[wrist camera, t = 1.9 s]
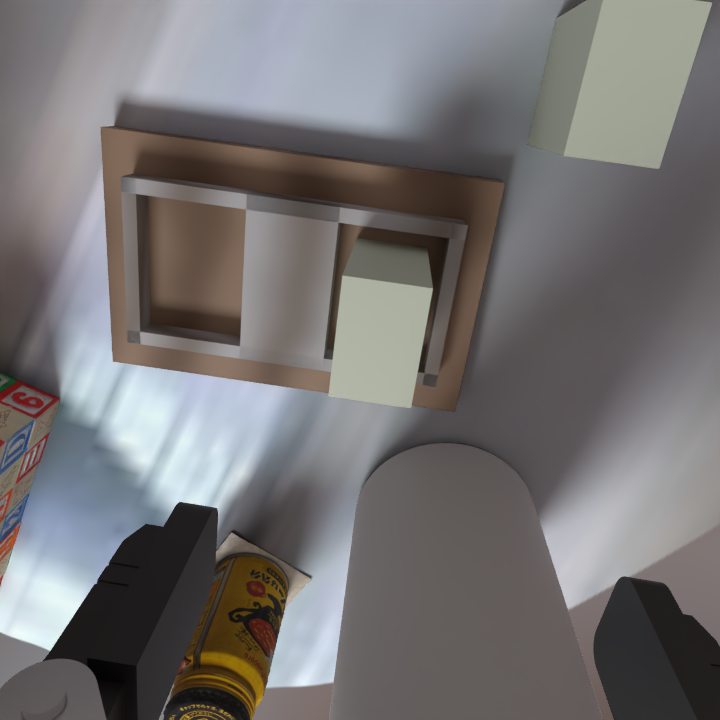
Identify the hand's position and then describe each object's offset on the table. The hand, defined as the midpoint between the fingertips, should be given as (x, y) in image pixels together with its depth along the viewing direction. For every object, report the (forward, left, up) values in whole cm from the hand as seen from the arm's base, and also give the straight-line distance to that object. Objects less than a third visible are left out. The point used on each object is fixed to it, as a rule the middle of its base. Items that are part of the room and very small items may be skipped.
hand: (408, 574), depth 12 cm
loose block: (+7, +10, -25) cm, 28 cm away
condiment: (-9, -28, -26) cm, 39 cm away
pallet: (-7, -2, -25) cm, 26 cm away
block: (-1, -2, -24) cm, 24 cm away
